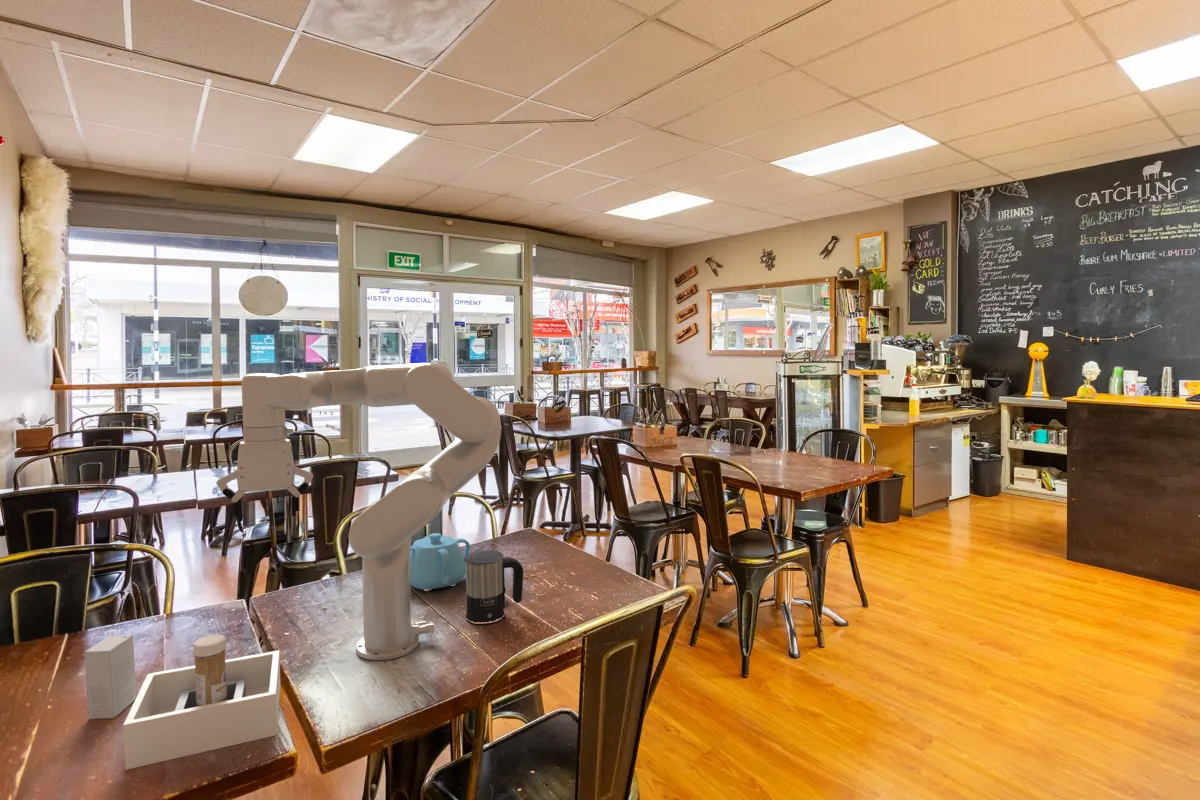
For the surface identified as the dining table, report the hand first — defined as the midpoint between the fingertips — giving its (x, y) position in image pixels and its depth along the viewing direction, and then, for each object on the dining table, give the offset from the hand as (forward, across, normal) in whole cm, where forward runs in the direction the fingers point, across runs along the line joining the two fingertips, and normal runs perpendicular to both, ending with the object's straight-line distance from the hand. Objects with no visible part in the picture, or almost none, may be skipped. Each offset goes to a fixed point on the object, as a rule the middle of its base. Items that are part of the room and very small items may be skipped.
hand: (267, 517), depth 126 cm
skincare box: (+28, +24, +12) cm, 39 cm away
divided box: (+28, +8, +24) cm, 38 cm away
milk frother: (+29, -46, -2) cm, 54 cm away
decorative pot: (+29, -38, -24) cm, 53 cm away
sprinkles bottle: (+28, +8, +24) cm, 37 cm away
